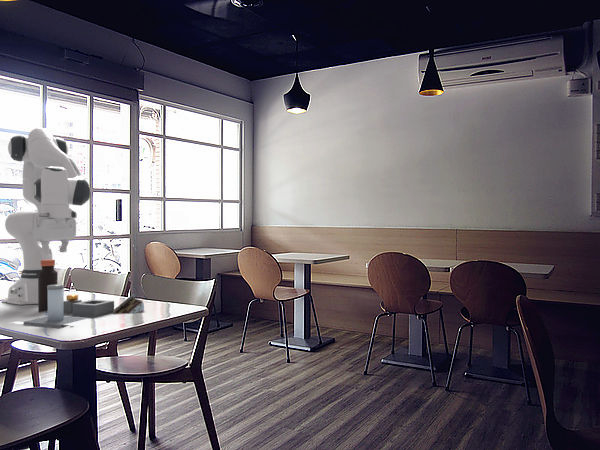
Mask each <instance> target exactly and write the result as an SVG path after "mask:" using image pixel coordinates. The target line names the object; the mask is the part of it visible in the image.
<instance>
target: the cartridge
mask: <svg viewBox="0 0 600 450" xmlns="http://www.w3.org/2000/svg"><path fill="white" fill-rule="evenodd" d="M47 289H48V311H47V314H48V315H47V316H48V321H62V320H64V317H65V316H64V301H65V298H64V295H65V294H64V289H65V285H64V284H58V285H48V286H47Z"/></svg>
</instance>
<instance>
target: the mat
mask: <svg viewBox="0 0 600 450" xmlns="http://www.w3.org/2000/svg"><path fill="white" fill-rule="evenodd" d="M86 319H88V318H81V317H70V316H64V320H62V321H48V315H47V316H43V317H38V318H35V319H29V320H26V321H23V325H24V326H35V327H42V328H43V327H45V328H56V329H63V328H67V327H70V326H71V325H67V324H71V323H75V322H79V321H83V320H86Z"/></svg>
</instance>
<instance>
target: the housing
mask: <svg viewBox="0 0 600 450" xmlns="http://www.w3.org/2000/svg"><path fill="white" fill-rule="evenodd" d="M114 309H115V301H114V300H104V299H90V300H82V299H78V300H75V301H73V302H70V300H67V299H66V300H64V317H75V318H87V319H97V318H100V317H105V316H108V315H114V314H113V311H114ZM46 315H47V316H48V313H46Z"/></svg>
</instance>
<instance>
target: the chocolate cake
mask: <svg viewBox="0 0 600 450" xmlns="http://www.w3.org/2000/svg"><path fill="white" fill-rule="evenodd" d="M144 310H145V303H144V302H143V301H141V300H139V299H137V298H136V297H135V293H132V294H131V295H130V296H129V297H128V298H126V299H125V300H124V301H123V302H121V303H120V304H119V305H118V306H117V307H114V311H113V314H112V315H115V314H123V315H124V314H127V315H128V314H130V315H131V314H133V313H134V314H136V313H140V312H144Z"/></svg>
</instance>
